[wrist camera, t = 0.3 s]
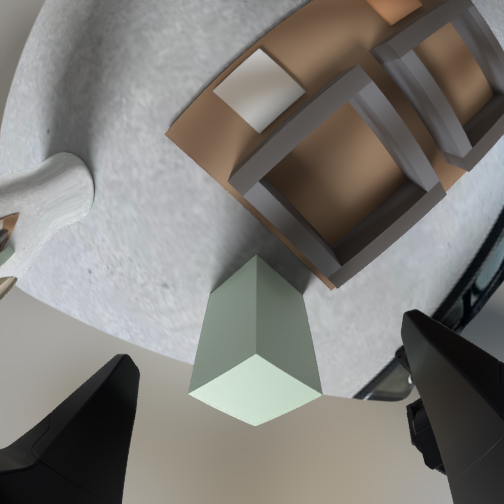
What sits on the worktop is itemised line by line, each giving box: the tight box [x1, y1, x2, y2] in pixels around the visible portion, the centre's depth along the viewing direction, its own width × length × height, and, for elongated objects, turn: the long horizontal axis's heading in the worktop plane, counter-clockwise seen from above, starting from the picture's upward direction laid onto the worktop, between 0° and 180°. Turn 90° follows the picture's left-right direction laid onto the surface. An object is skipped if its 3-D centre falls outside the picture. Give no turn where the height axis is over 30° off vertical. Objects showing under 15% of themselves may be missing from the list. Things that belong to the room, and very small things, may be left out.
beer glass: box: [0, 152, 94, 301], centre depth 12 cm, size 7×7×15 cm
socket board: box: [165, 0, 504, 290], centre depth 14 cm, size 17×25×4 cm
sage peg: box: [188, 254, 323, 426], centre depth 19 cm, size 6×6×10 cm
